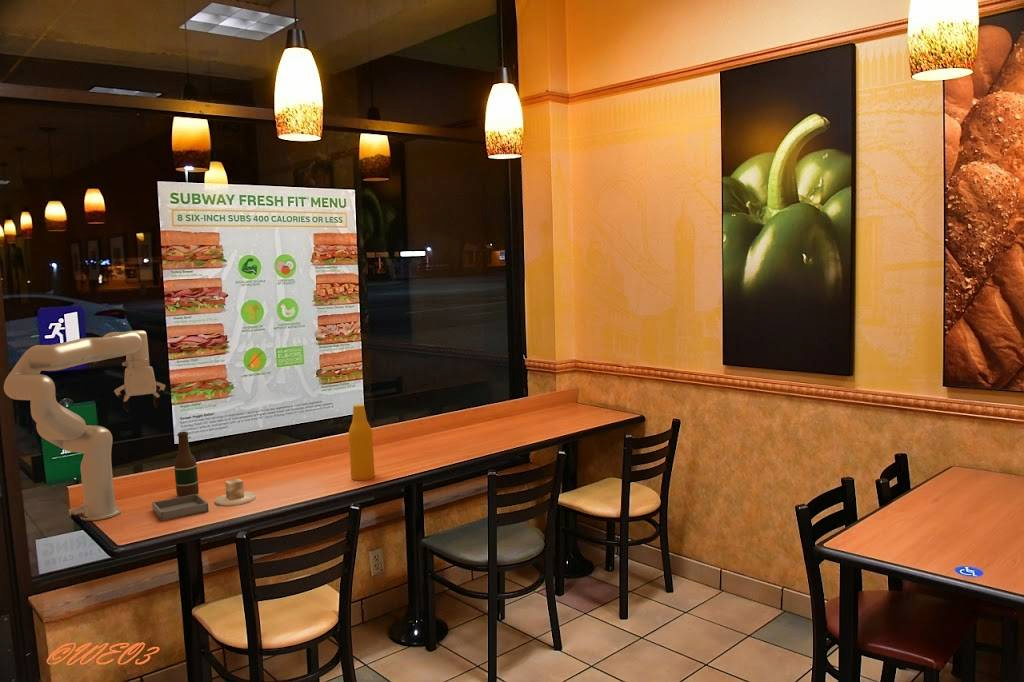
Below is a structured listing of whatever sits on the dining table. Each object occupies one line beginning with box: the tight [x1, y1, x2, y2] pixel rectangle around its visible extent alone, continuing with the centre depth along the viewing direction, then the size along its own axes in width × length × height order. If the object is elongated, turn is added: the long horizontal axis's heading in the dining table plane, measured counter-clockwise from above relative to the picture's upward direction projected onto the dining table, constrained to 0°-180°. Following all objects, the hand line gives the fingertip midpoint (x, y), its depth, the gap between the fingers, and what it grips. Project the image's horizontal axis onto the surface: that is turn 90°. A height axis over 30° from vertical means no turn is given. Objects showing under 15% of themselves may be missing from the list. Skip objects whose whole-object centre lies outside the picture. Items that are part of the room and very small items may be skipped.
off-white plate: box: [214, 491, 257, 507], centre depth 281 cm, size 14×14×1 cm
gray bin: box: [151, 493, 209, 522], centre depth 270 cm, size 15×15×3 cm
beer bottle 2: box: [348, 404, 376, 482], centre depth 304 cm, size 9×9×29 cm
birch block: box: [224, 478, 245, 500], centre depth 281 cm, size 5×5×6 cm
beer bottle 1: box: [173, 431, 200, 498], centre depth 290 cm, size 8×8×24 cm
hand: (142, 409), depth 286 cm, fingers open, 9 cm apart
